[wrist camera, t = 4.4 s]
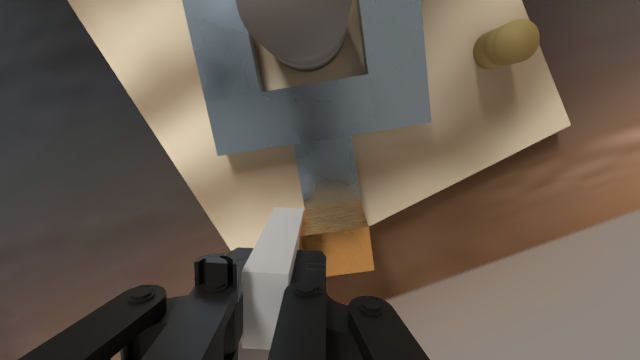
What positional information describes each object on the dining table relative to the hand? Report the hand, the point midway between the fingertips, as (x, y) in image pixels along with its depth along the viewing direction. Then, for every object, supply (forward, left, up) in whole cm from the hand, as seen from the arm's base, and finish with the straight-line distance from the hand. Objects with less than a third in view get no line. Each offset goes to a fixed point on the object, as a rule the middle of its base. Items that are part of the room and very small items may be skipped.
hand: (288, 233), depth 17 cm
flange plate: (-6, +5, -3) cm, 8 cm away
